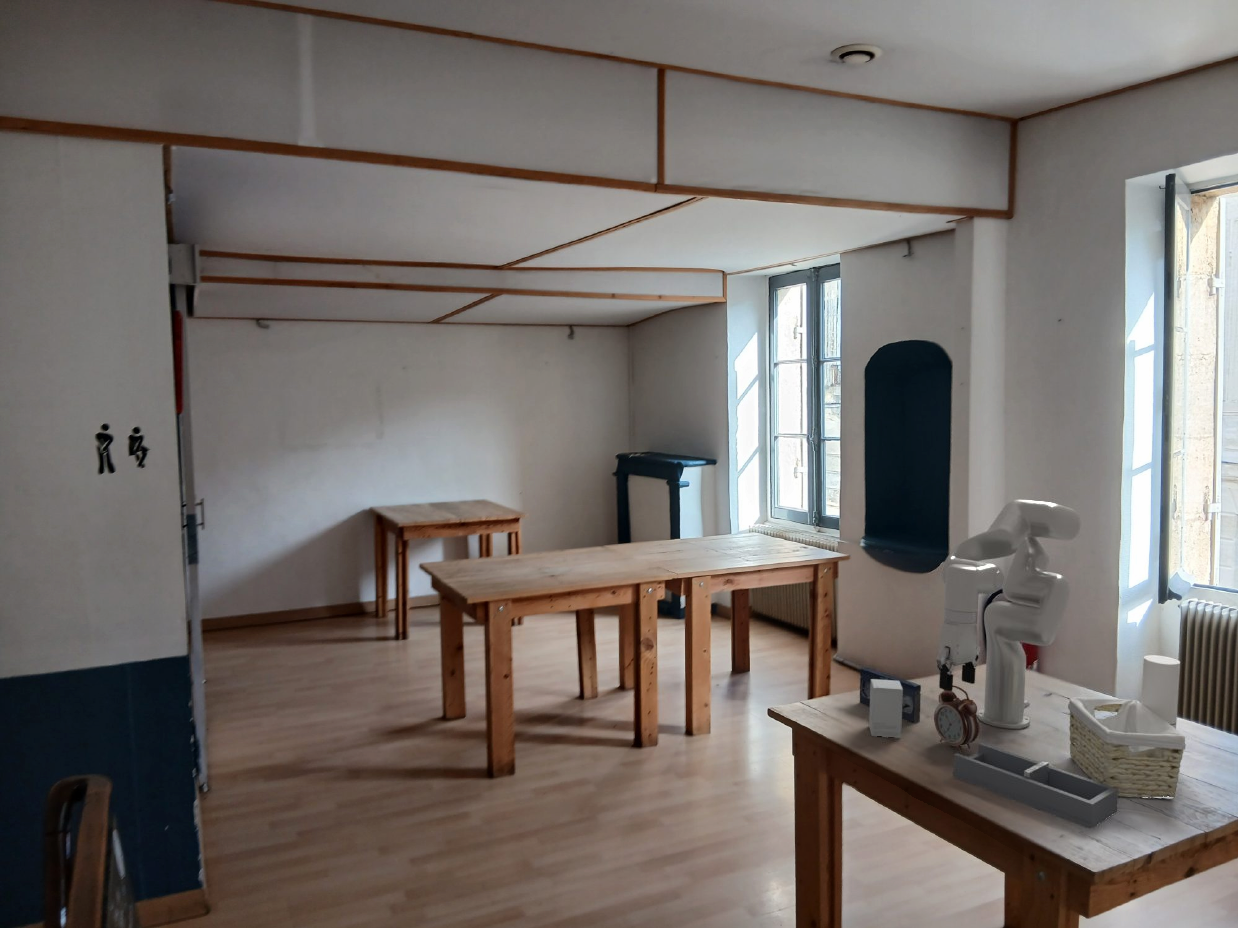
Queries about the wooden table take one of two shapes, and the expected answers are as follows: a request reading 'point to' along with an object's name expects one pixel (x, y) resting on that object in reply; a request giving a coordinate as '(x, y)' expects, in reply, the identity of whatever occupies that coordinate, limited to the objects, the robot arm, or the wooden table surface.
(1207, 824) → the wooden table surface
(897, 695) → the supplement box
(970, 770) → the tray
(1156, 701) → the cylindrical container
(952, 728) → the alarm clock
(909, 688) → the vhs cassette tape
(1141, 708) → the storage basket
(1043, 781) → the pusher plate
